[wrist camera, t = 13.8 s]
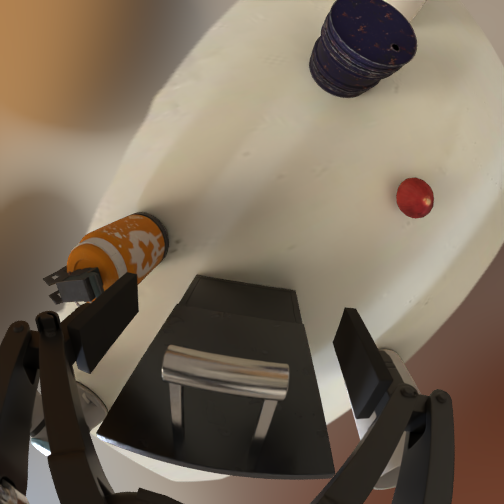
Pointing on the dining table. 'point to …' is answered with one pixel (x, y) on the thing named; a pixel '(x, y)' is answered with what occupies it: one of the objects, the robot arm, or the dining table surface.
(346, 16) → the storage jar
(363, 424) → the cylinder vase
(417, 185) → the onion
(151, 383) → the lid
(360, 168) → the dining table surface
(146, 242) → the canister
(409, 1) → the spray can
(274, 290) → the dark grey hollow box
